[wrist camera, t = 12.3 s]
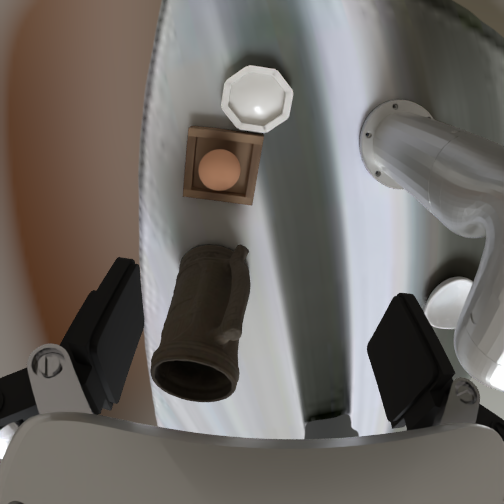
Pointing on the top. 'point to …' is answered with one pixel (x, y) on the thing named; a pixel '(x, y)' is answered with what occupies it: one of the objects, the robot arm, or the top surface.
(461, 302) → the spoon rest
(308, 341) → the top surface
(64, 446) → the robot arm
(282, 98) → the octagonal white dish
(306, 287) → the top surface
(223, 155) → the ball
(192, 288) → the beer stein
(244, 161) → the tray
